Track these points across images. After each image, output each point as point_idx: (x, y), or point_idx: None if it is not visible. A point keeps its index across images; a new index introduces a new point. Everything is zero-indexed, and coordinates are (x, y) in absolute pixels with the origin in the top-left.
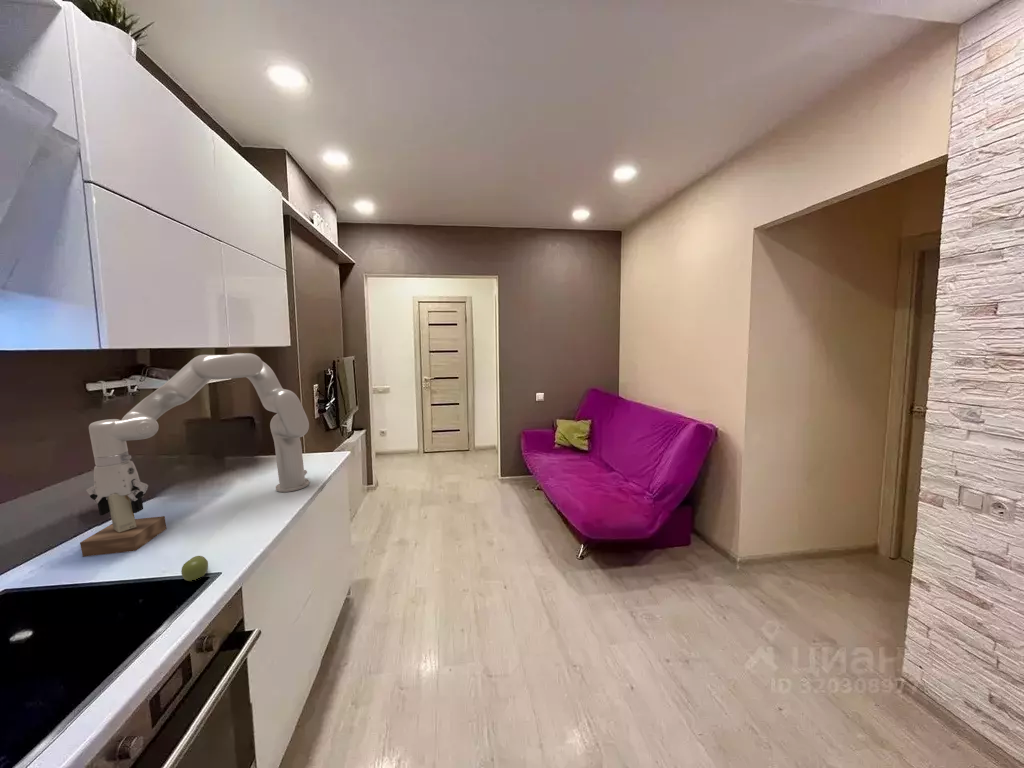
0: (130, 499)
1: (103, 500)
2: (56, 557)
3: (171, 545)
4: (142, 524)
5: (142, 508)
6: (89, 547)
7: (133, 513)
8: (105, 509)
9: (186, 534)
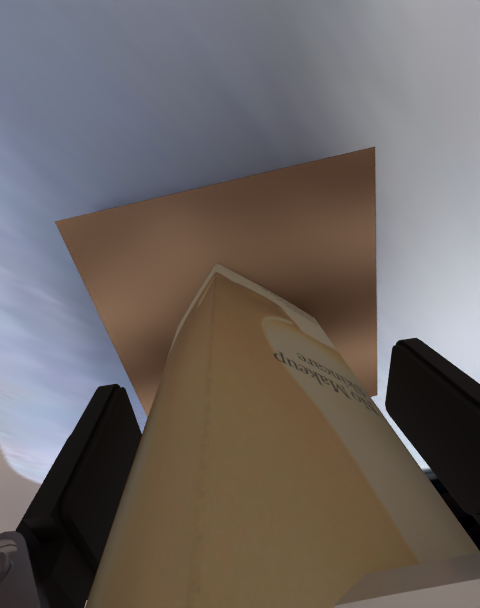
0: (441, 502)
1: (73, 581)
2: (63, 405)
3: (459, 317)
4: (313, 277)
5: (417, 346)
6: None
7: (352, 373)
8: (126, 455)
9: (476, 227)
